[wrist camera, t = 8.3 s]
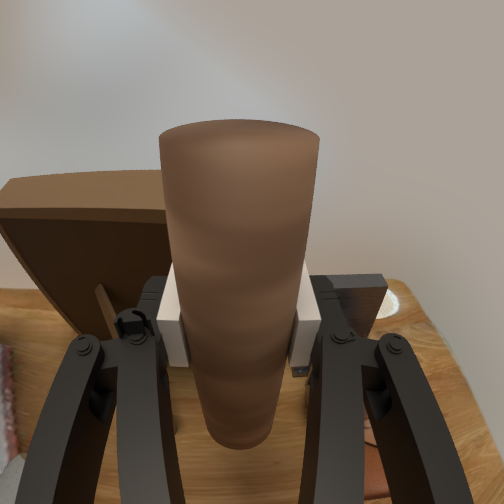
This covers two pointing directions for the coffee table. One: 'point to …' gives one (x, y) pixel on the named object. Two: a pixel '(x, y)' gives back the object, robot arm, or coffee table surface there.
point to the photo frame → (89, 241)
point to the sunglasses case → (373, 467)
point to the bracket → (353, 308)
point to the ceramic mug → (11, 479)
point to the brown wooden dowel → (238, 260)
